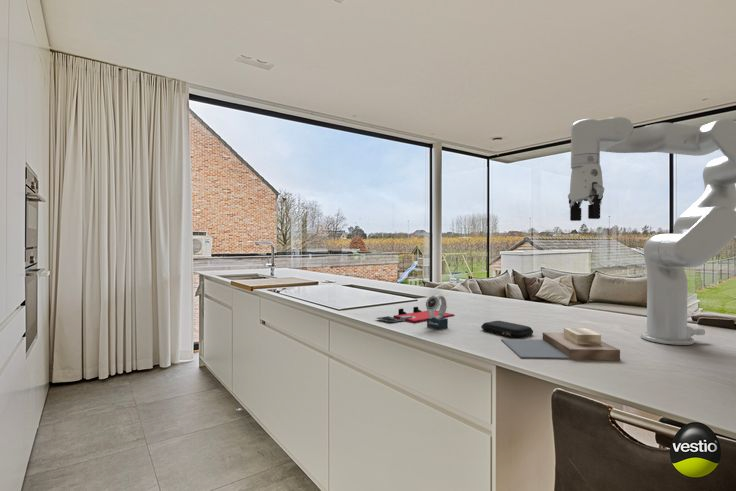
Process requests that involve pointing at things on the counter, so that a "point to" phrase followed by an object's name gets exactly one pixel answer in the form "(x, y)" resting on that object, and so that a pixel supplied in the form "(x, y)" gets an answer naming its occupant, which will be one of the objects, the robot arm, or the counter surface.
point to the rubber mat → (534, 349)
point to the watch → (434, 320)
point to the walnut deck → (582, 348)
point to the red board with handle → (412, 316)
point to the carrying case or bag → (507, 329)
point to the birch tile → (582, 336)
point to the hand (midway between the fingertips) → (584, 219)
